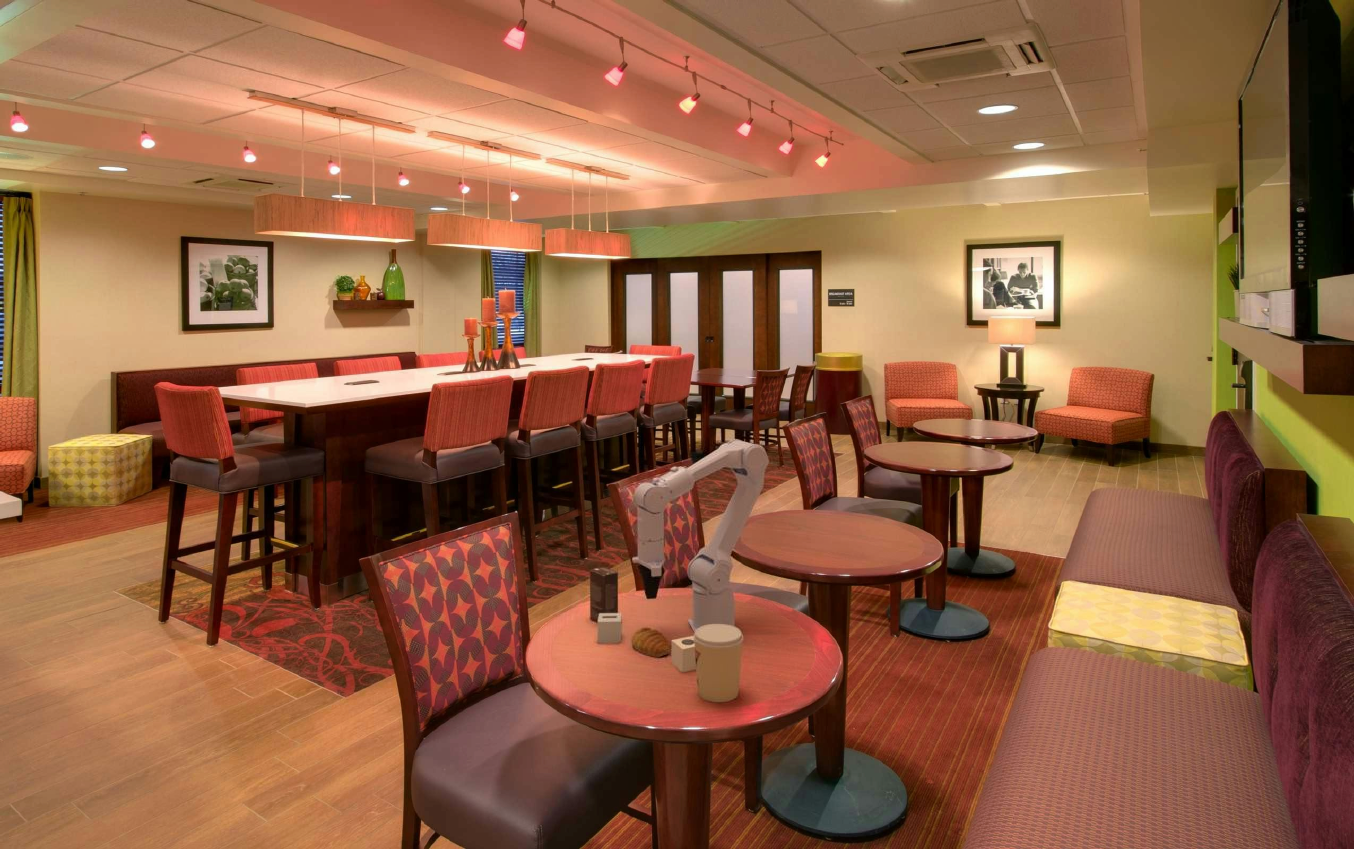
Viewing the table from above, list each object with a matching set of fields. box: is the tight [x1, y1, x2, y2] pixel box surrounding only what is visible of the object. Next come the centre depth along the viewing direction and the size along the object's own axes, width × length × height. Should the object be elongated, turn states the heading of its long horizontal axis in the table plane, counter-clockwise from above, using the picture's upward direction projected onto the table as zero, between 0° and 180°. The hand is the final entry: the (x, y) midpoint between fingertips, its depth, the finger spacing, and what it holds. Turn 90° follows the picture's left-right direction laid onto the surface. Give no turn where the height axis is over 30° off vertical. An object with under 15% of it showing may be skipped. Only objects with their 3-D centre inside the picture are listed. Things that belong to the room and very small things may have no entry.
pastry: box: [631, 626, 671, 658], centre depth 171 cm, size 9×7×4 cm
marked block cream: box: [671, 635, 696, 673], centre depth 164 cm, size 5×5×5 cm
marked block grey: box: [597, 612, 623, 644], centre depth 177 cm, size 5×5×5 cm
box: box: [589, 566, 619, 623], centre depth 188 cm, size 6×4×12 cm
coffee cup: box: [693, 624, 744, 703], centre depth 151 cm, size 9×9×12 cm
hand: (651, 597), depth 176 cm, fingers closed
